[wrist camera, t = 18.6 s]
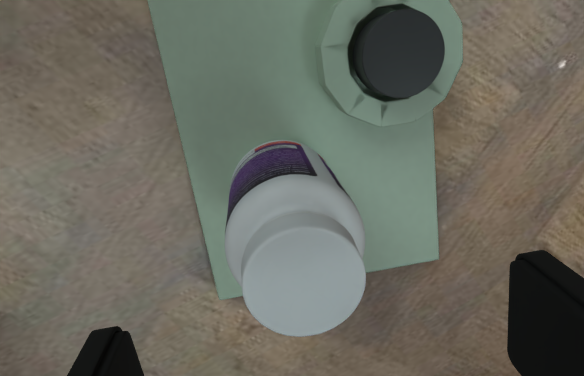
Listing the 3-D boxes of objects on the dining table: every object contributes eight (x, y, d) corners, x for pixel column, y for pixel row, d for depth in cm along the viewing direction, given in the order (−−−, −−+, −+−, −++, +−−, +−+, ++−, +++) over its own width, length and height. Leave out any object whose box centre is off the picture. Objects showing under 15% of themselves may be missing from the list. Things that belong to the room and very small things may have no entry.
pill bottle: (213, 211, 23) (190, 324, 13) (257, 120, 21) (263, 175, 12) (303, 249, 24) (339, 375, 15) (350, 164, 23) (420, 245, 13)
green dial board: (152, 1, 20) (136, -7, 17) (432, -42, 21) (461, -56, 18) (220, 289, 25) (216, 320, 23) (443, 248, 26) (467, 272, 23)
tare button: (348, 18, 19) (357, 15, 17) (426, 6, 19) (443, 2, 17) (356, 99, 20) (366, 104, 18) (430, 87, 20) (446, 91, 19)
